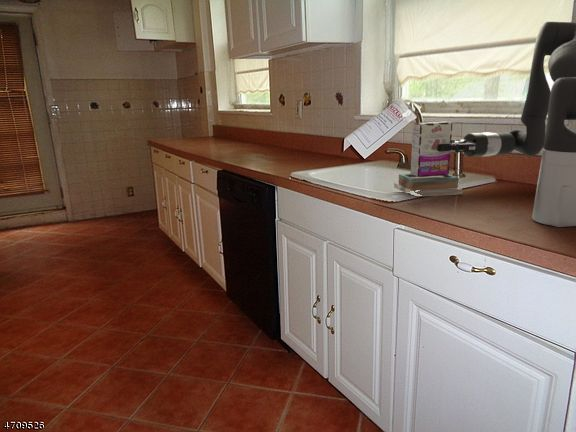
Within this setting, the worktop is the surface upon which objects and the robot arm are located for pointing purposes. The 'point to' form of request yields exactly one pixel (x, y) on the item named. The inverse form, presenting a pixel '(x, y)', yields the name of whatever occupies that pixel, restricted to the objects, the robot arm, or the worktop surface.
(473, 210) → the worktop surface
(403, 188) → the foundation
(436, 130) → the candy bar box
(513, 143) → the robot arm
